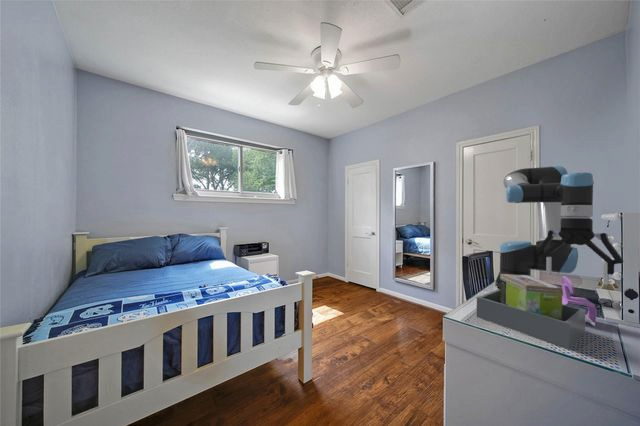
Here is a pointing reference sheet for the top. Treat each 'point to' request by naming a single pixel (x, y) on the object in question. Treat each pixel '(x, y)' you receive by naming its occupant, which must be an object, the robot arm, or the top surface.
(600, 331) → the top surface
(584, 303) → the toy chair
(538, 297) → the tea box
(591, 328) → the top surface
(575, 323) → the crate
